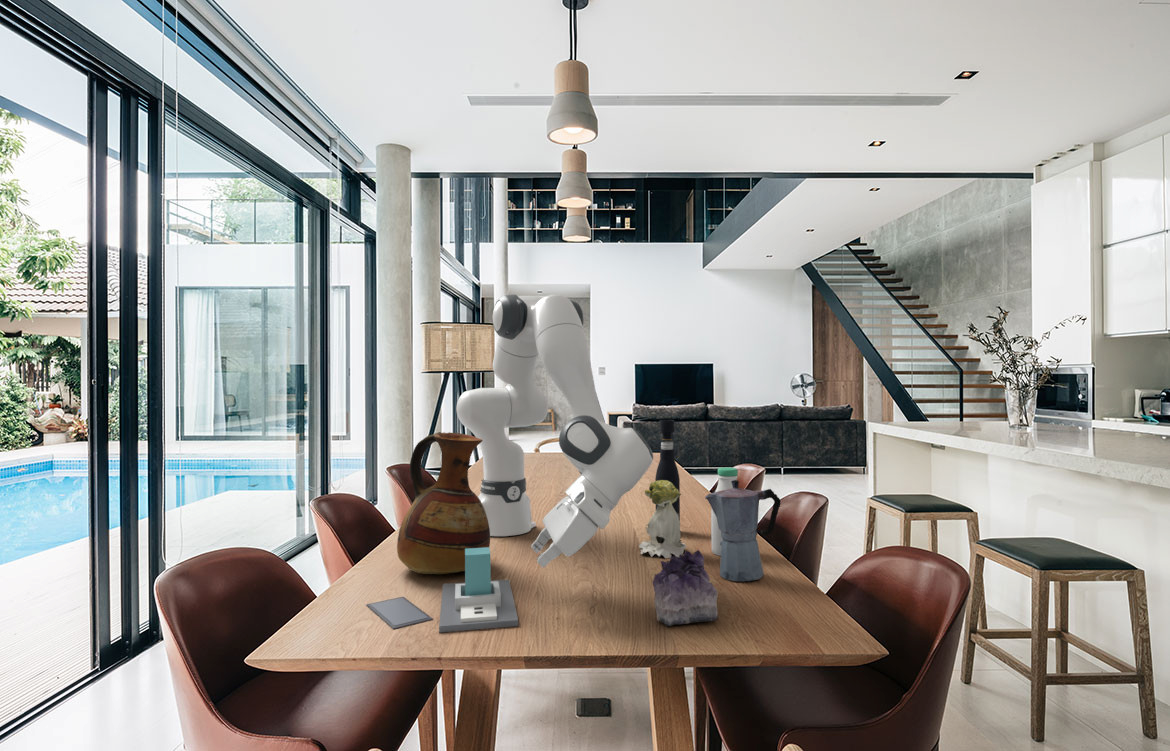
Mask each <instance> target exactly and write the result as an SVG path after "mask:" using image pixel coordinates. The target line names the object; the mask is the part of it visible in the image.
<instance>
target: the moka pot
mask: <svg viewBox="0 0 1170 751" xmlns="http://www.w3.org/2000/svg"><path fill="white" fill-rule="evenodd" d="M731 483H732V486H733V488H731V489H726V490H722V491H718V492H715V491H714V492H711V493H708V494H707V495H705V496H704V499H705V500H707V502H708V504H709V505H710V507H711V509H713V511H714V513H715V515H716V517H717V522H718V527H719V530H721V537H722V541H721V542H720V545H721V556H720V564H719V565H720V566H719V576H720V577H721V578H722V579H725V580H728V581H731V582H752V581H757V580H760V579H762V578H763V577H764V568H763V563H762V558H761V554H760V548H759V543H758V540H757V535H758V531H757V528H758V526H759V525H758V523H759V522H758V521H759V510H760V508H759V507H760V501H764V500H767V499H772V500H773V505H772V510H771V514H770V517H769V518H770V519H769V523H768V527H767V529H764V530H760V531H759V532H760V534H761V536H764V535H765V536H767V535H771V534H773V532H774V527H775V524H776V522H777V521H776V519H777V516H778V513H779V509H780V507H781V503H782V502H781V498H779V497H778V495H777V494H776V493H775V492H774V491H773V490H772V489H771V488H767V489H764V490H763V489H762V490H751V489H745V488H740V487H739V483H740V481H739V480H733V481H731Z"/></svg>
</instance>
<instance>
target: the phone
mask: <svg viewBox="0 0 1170 751" xmlns="http://www.w3.org/2000/svg"><path fill="white" fill-rule="evenodd" d="M366 607H367V608H368V609H369V610H371V611H372V612H373V613H374V614H375V615H376V616H378V618H379V619H381V620H382V621H383V622H384V623H385V624H386V625H387V626H389V628H391V629H392V630H397V629H401V628H406V627H409V626H414V625H419V624H421V623H425V622H430V621H434V618H433V617H432V616H430V615H429V614H428V613H427V612H425V611H424V610H422V609H421V608H419V607H418V606H417V605H415V604H414V603H413V602H411V601H410V600H409V599H407V598H406V597H405V596H400V597H394V598H390V599H389V598H388V599H386V600H381V601H376V602H371V603H366Z"/></svg>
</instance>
